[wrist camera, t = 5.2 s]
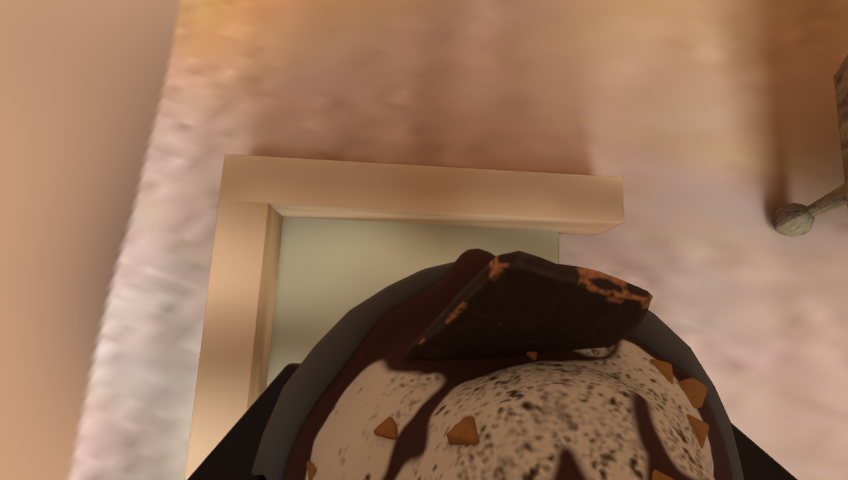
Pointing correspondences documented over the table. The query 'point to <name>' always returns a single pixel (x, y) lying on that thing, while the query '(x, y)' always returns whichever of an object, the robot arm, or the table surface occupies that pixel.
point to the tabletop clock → (801, 218)
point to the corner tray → (353, 254)
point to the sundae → (500, 384)
